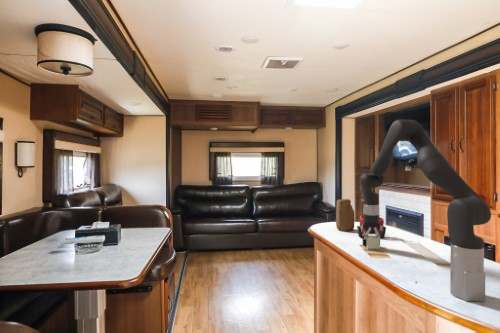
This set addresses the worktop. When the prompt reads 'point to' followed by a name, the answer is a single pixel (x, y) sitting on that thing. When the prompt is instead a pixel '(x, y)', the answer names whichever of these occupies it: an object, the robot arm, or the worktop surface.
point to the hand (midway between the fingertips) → (371, 246)
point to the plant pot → (381, 222)
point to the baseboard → (428, 254)
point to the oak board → (376, 253)
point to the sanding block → (372, 242)
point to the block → (344, 215)
